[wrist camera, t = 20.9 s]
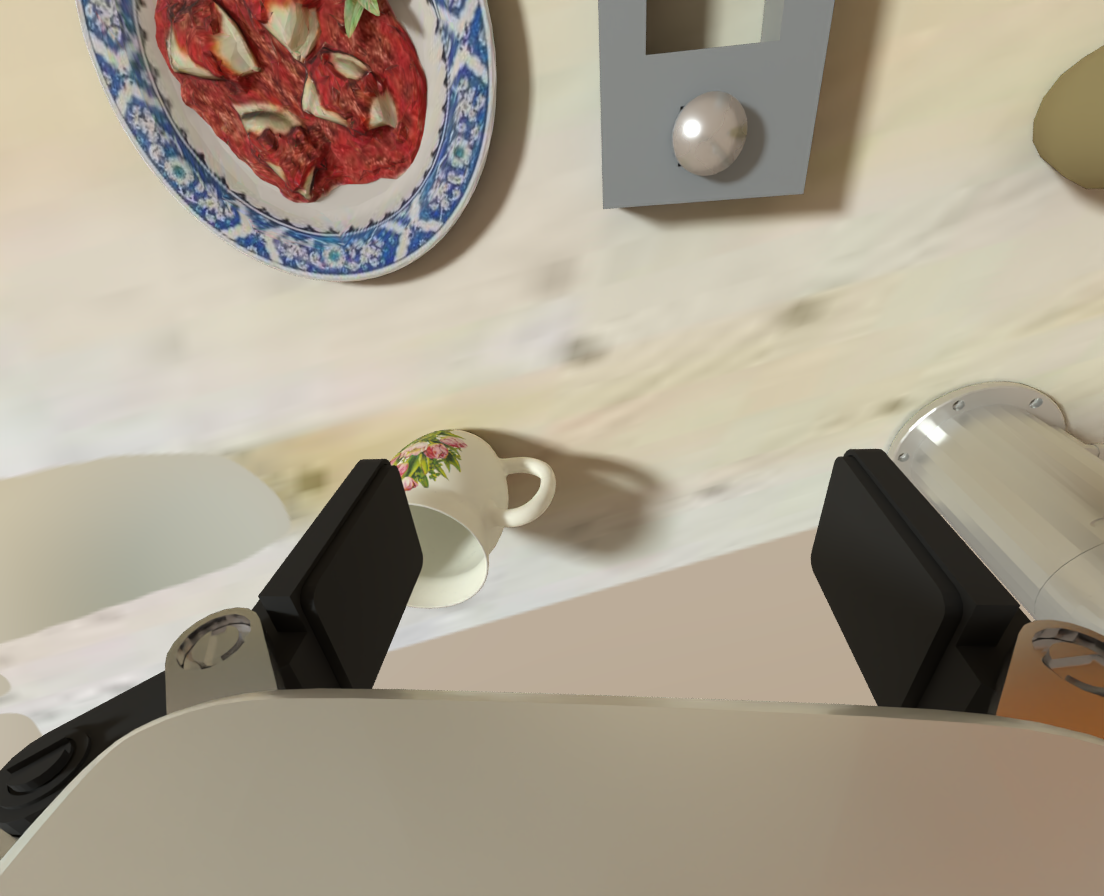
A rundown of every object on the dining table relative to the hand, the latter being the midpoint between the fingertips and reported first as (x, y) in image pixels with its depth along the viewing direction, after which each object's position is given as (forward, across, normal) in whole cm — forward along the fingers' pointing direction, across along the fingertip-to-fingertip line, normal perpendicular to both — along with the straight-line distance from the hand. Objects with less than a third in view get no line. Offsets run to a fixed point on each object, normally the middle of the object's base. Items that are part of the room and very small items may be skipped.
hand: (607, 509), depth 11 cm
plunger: (+29, -6, -7) cm, 31 cm away
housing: (+30, -6, -11) cm, 33 cm away
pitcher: (+31, +13, +18) cm, 38 cm away
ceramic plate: (+31, +19, -12) cm, 38 cm away
